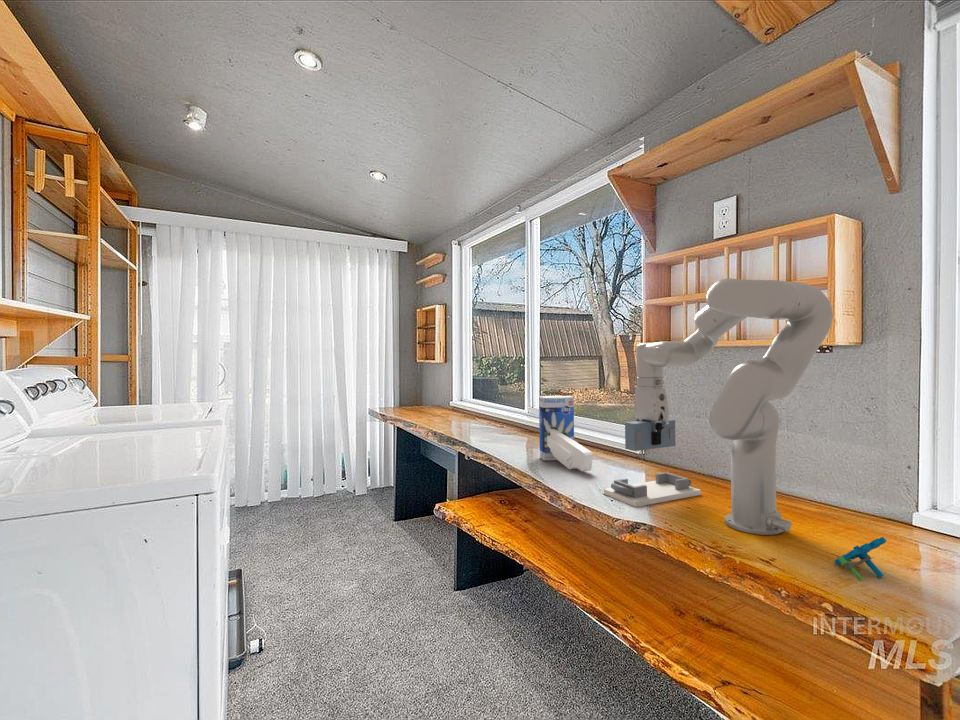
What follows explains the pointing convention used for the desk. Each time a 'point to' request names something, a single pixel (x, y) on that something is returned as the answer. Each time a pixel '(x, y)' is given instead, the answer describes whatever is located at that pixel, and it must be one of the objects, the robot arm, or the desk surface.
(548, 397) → the string lights box
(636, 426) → the blue-grey rectangular block
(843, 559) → the toy building block construction
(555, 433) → the shelf bracket
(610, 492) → the block holder fixture
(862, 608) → the desk surface
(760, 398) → the robot arm
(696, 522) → the desk surface
